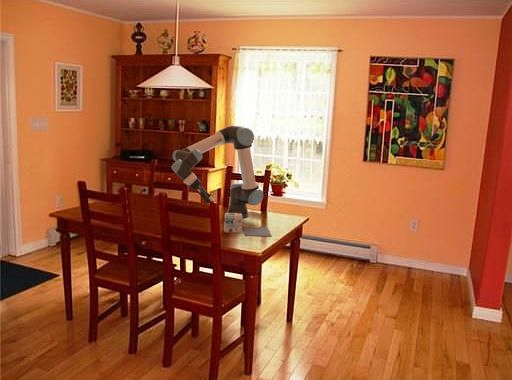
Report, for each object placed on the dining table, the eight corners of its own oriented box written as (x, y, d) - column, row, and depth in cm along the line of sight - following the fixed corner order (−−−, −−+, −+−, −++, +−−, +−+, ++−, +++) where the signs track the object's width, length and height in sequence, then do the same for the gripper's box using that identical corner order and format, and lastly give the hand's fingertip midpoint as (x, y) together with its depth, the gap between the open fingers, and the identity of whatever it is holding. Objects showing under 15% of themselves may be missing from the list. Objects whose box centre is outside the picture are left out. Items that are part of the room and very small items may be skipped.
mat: (242, 227, 305) (242, 226, 305) (267, 228, 306) (267, 227, 306) (245, 235, 285) (245, 235, 285) (271, 236, 287) (271, 235, 287)
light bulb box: (224, 232, 290) (225, 215, 288) (223, 229, 296) (224, 212, 294) (242, 232, 292) (243, 215, 290) (240, 229, 298) (241, 213, 296)
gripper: (188, 182, 298) (211, 207, 303) (187, 189, 274) (212, 216, 278) (197, 174, 298) (220, 199, 302) (196, 180, 274) (221, 207, 278)
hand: (216, 207), depth 290 cm, fingers open, 13 cm apart
